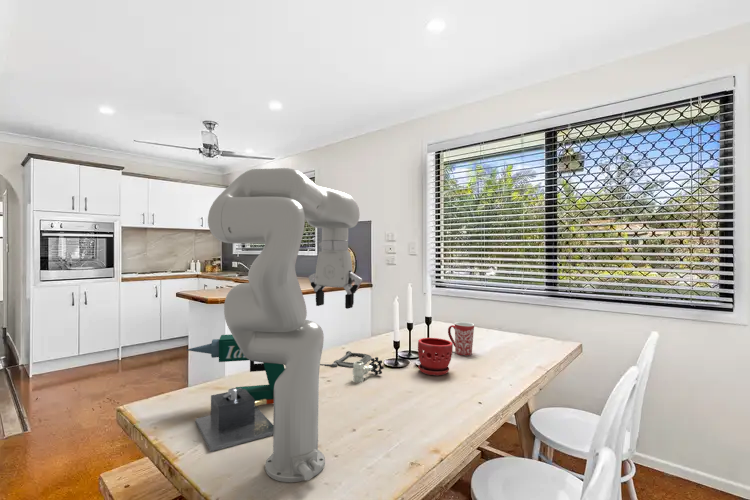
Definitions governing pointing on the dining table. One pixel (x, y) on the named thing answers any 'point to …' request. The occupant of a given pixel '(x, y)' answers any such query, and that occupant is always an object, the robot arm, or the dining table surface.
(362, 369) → the valve
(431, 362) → the plant pot
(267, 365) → the power tool
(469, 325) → the mug
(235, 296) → the robot arm
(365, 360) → the c clamp
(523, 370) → the dining table surface
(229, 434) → the block
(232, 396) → the chuck key
